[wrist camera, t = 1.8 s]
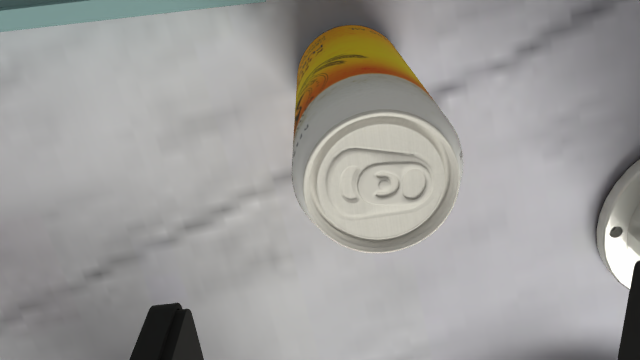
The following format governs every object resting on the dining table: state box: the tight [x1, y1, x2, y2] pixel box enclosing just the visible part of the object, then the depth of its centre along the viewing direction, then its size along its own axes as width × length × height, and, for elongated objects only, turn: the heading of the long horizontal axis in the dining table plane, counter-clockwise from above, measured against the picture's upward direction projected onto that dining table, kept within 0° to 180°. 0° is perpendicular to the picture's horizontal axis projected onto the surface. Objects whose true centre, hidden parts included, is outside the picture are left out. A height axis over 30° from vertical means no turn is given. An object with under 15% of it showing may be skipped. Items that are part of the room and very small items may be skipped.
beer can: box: [292, 25, 463, 253], centre depth 25 cm, size 6×6×15 cm
